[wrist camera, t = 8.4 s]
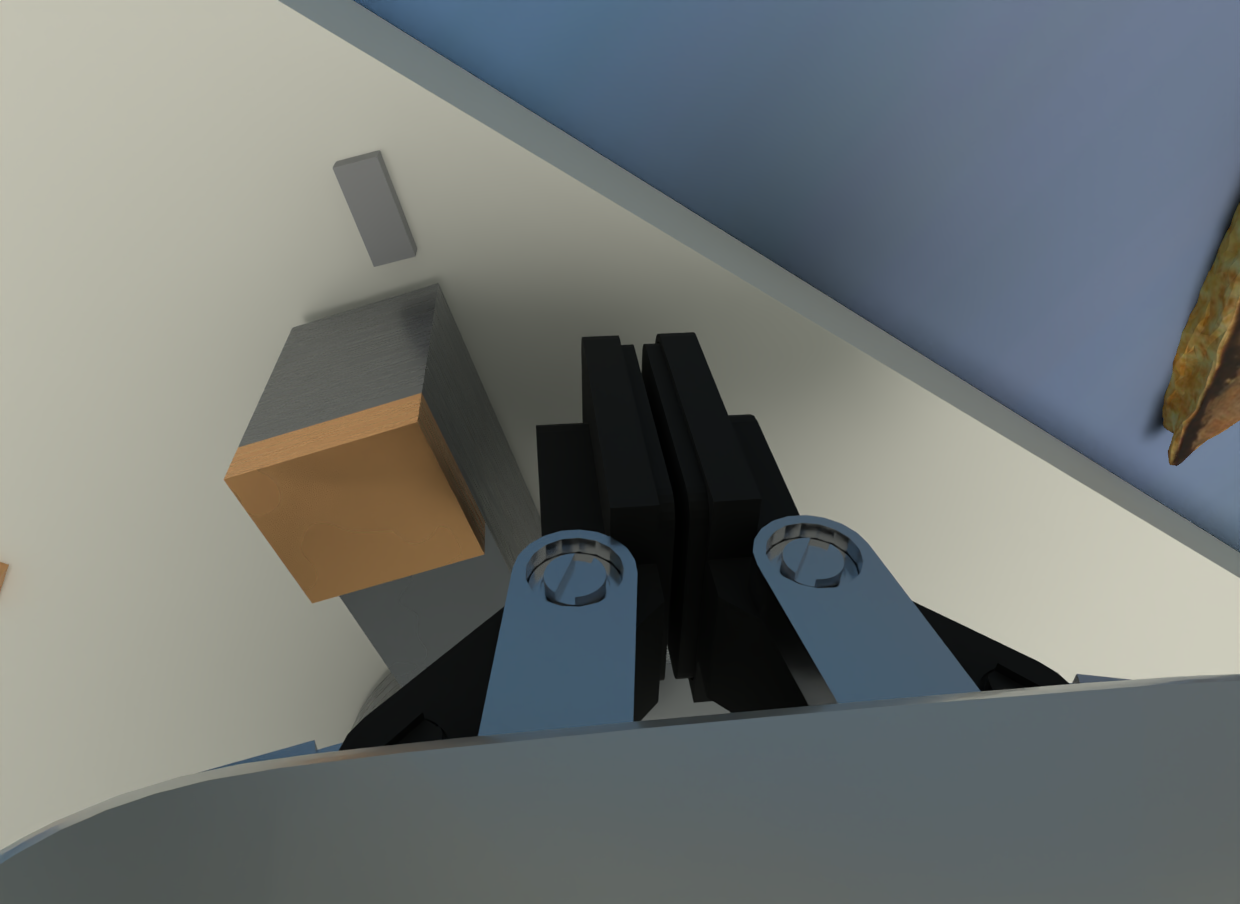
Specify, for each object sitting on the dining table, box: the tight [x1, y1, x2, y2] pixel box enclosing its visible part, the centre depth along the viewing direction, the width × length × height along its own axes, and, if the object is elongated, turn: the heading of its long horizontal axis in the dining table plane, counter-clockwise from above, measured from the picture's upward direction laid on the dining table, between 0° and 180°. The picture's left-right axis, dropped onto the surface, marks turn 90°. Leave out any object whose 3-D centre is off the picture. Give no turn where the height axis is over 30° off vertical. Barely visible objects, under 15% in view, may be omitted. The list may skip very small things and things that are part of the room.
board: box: [0, 0, 1240, 850], centre depth 20 cm, size 22×28×3 cm
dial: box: [223, 283, 730, 730], centre depth 15 cm, size 18×11×4 cm, turn 15°
